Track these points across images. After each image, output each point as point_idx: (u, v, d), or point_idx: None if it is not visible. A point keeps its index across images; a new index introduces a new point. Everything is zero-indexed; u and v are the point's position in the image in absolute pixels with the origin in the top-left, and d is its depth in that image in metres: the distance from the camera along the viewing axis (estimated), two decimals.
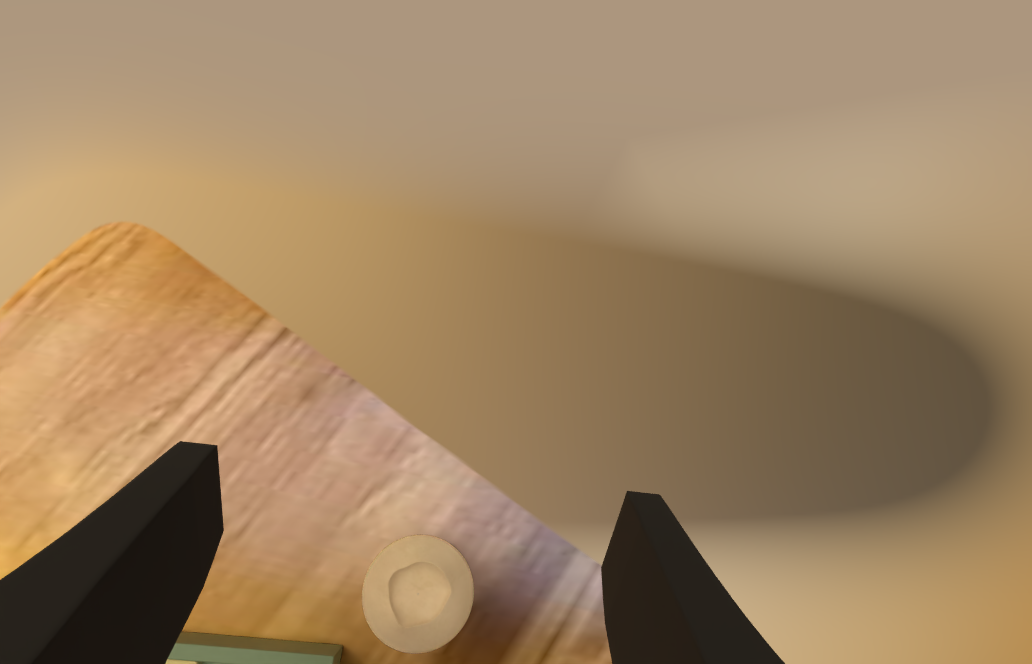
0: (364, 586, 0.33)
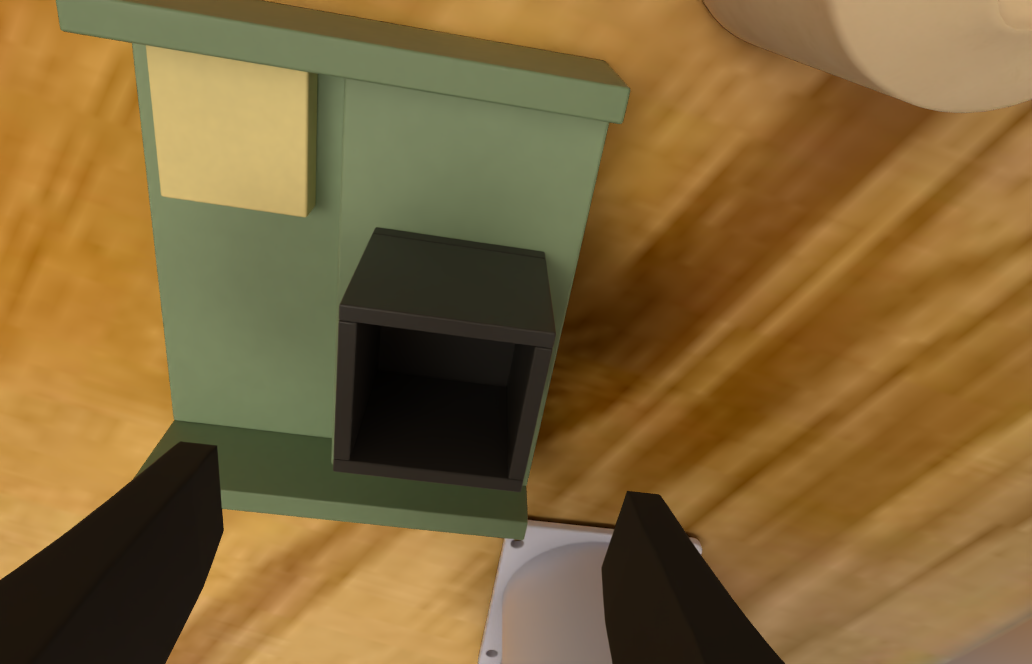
0: None
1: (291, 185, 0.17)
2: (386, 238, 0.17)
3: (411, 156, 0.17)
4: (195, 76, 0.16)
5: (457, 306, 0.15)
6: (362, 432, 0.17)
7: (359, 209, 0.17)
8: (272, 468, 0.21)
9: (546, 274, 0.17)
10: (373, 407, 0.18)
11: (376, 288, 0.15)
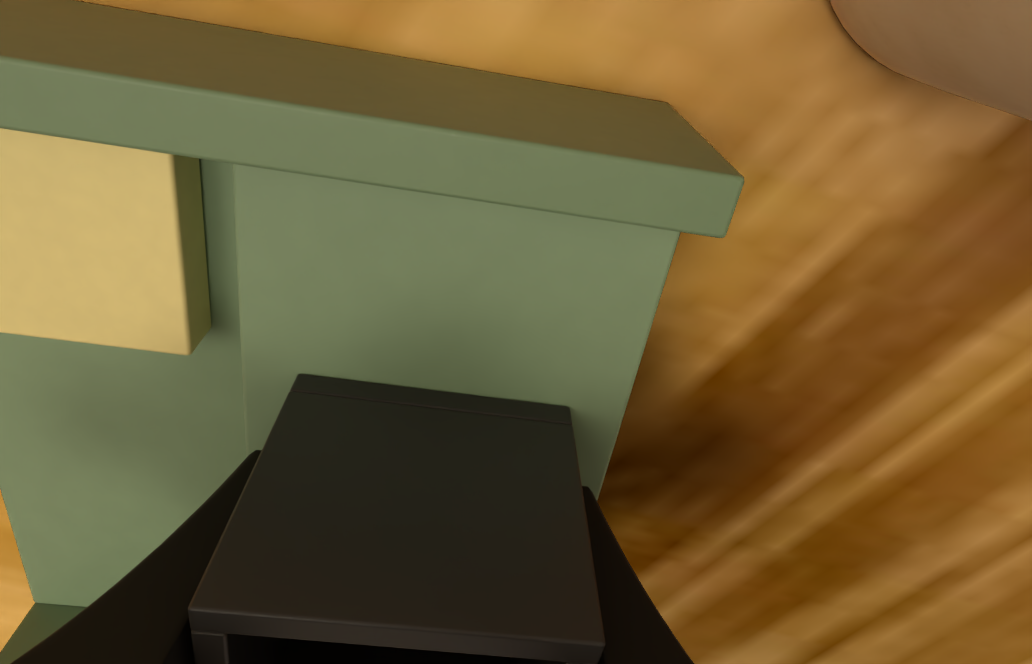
0: None
1: (160, 309, 0.11)
2: (312, 400, 0.10)
3: (352, 270, 0.10)
4: None
5: (421, 582, 0.08)
6: None
7: (272, 348, 0.11)
8: None
9: (576, 465, 0.10)
10: (296, 659, 0.11)
11: (271, 545, 0.08)
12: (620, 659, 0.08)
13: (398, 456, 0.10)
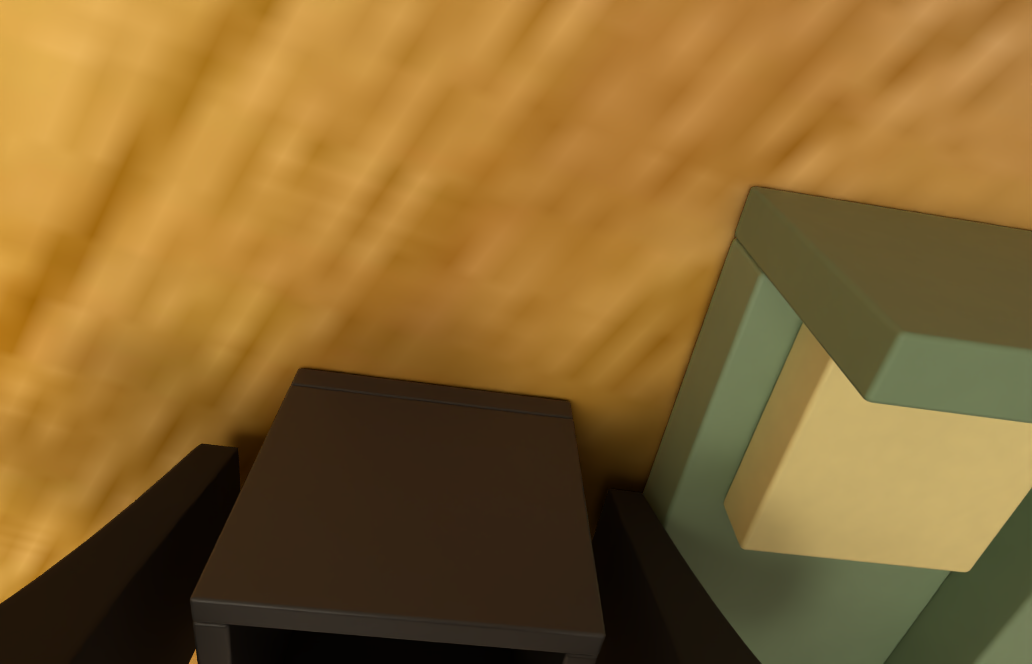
0: None
1: (973, 533, 0.10)
2: (313, 395, 0.10)
3: None
4: None
5: (422, 574, 0.08)
6: None
7: None
8: None
9: (576, 459, 0.10)
10: (297, 653, 0.11)
11: (273, 537, 0.08)
12: None
13: (399, 450, 0.10)
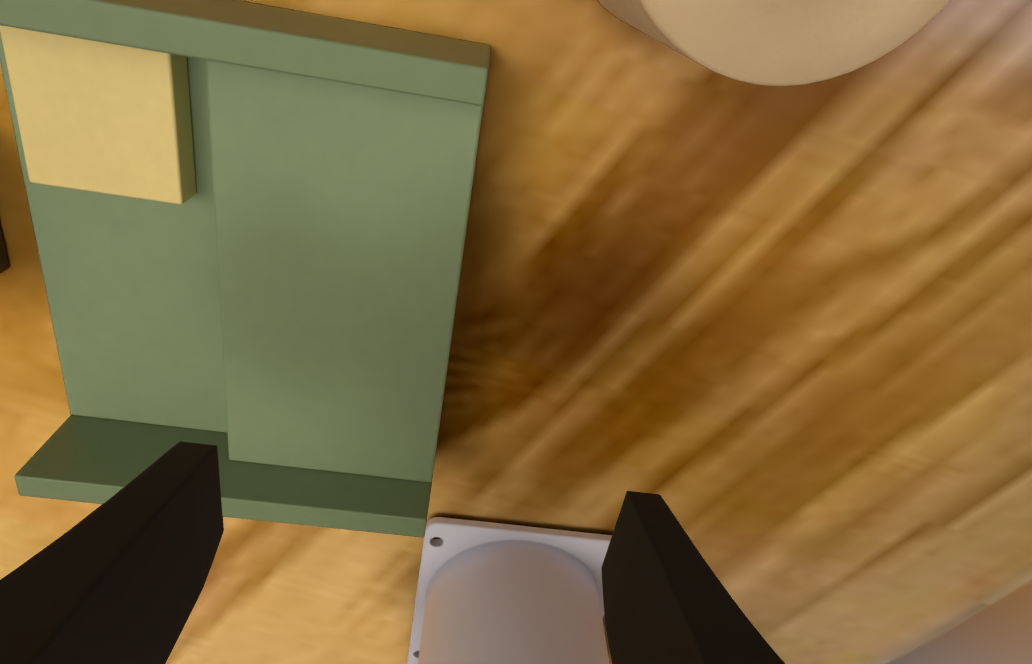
0: None
1: (163, 171, 0.17)
2: None
3: (281, 141, 0.16)
4: (53, 57, 0.16)
5: None
6: None
7: (233, 196, 0.17)
8: None
9: None
10: None
11: None
12: None
13: None
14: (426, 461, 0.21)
